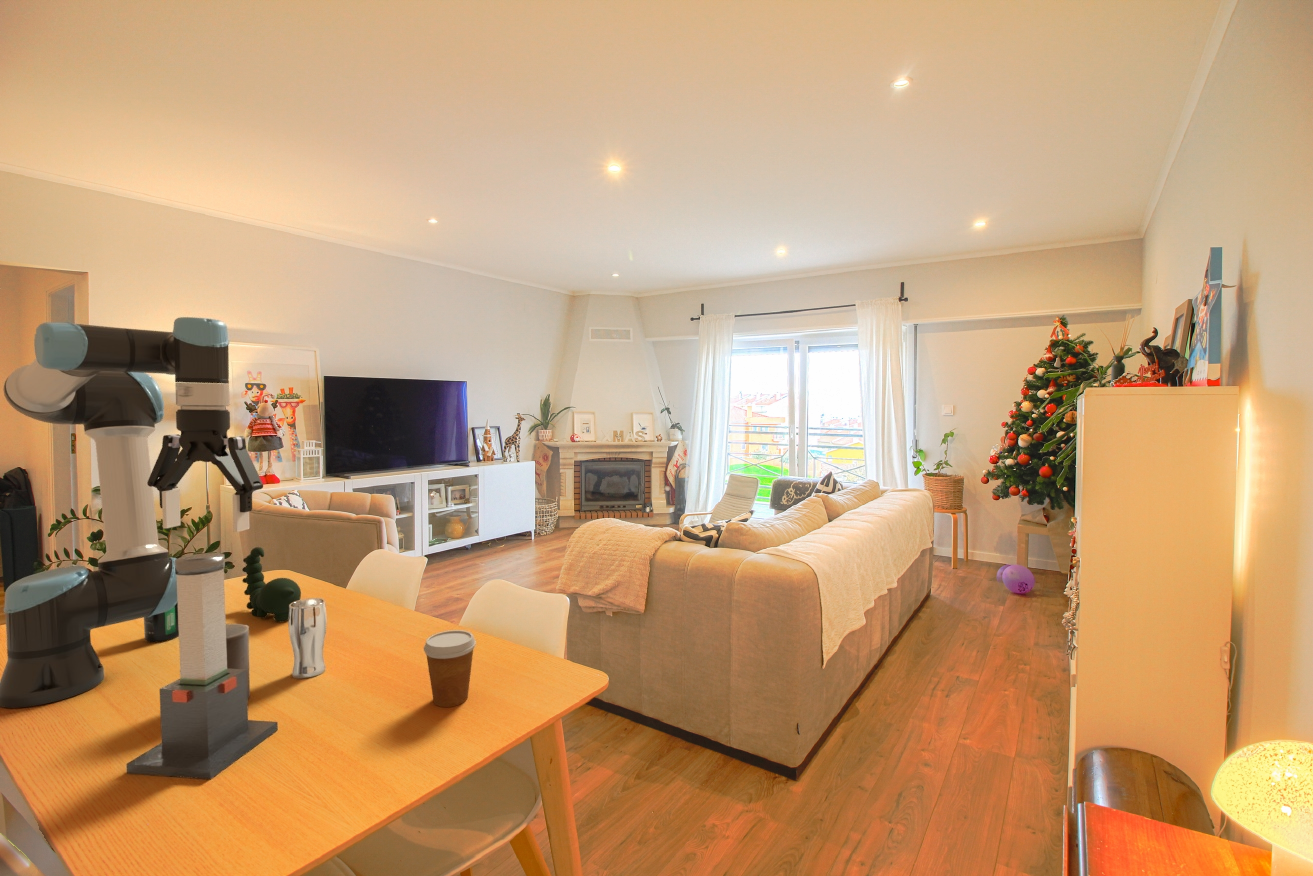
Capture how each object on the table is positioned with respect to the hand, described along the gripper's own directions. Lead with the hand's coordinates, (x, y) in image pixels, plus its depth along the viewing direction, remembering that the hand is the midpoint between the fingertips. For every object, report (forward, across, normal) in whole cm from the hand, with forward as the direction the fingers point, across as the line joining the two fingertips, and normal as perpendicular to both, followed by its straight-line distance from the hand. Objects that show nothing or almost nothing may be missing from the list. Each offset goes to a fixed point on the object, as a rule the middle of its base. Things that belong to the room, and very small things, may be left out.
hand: (206, 528), depth 107 cm
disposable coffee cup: (+34, +39, +13) cm, 54 cm away
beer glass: (+35, +4, +20) cm, 41 cm away
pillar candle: (+35, -4, +6) cm, 36 cm away
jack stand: (+34, +8, -9) cm, 36 cm away
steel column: (+26, +8, -9) cm, 29 cm away
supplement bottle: (+36, -44, +33) cm, 66 cm away
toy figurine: (+36, -29, +50) cm, 69 cm away
